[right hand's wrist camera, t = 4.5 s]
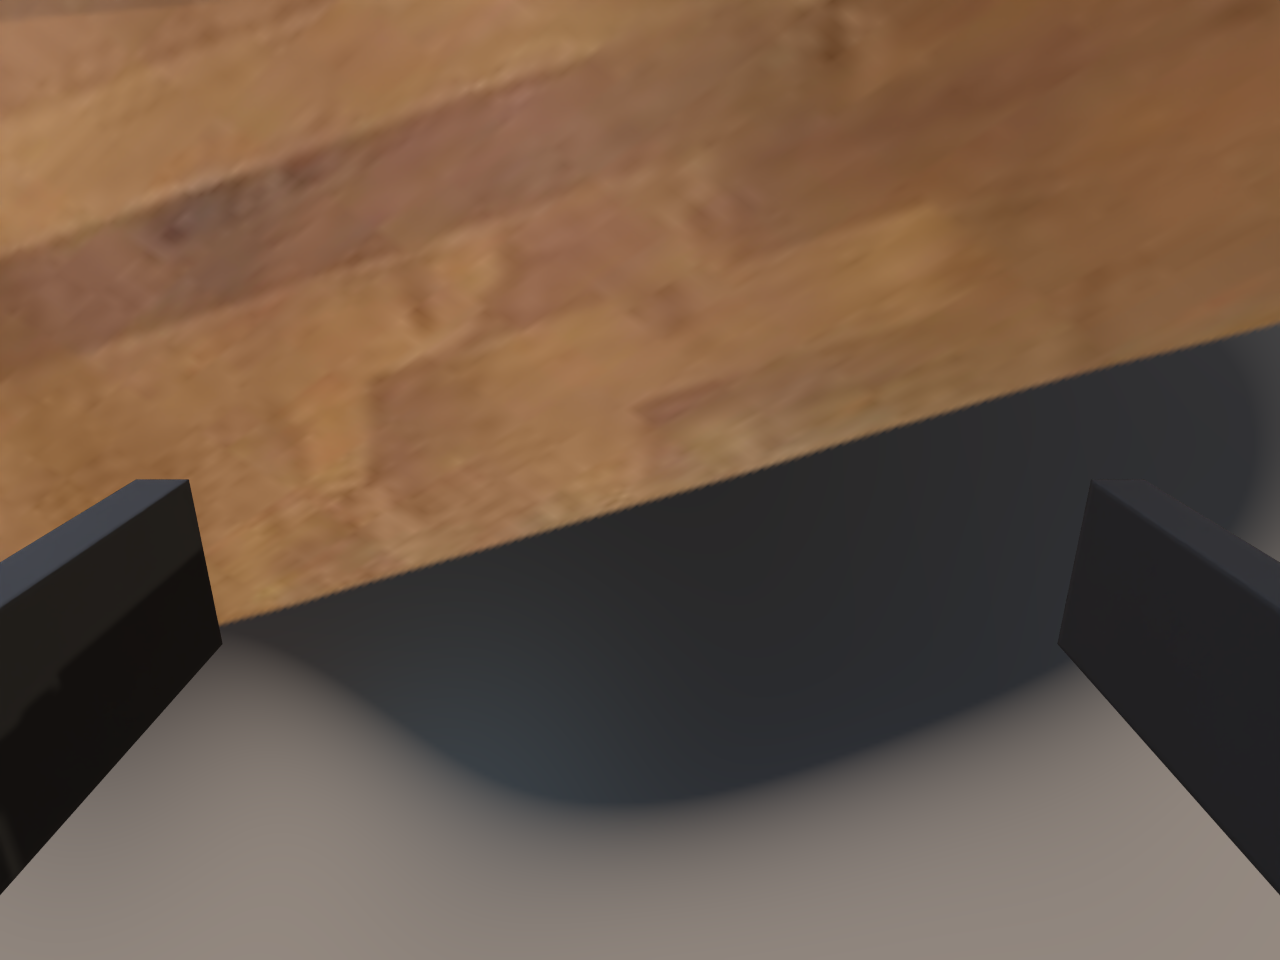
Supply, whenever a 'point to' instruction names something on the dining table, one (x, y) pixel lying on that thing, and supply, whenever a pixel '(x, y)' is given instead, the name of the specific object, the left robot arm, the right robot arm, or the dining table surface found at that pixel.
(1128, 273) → the dining table surface
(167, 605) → the right robot arm
